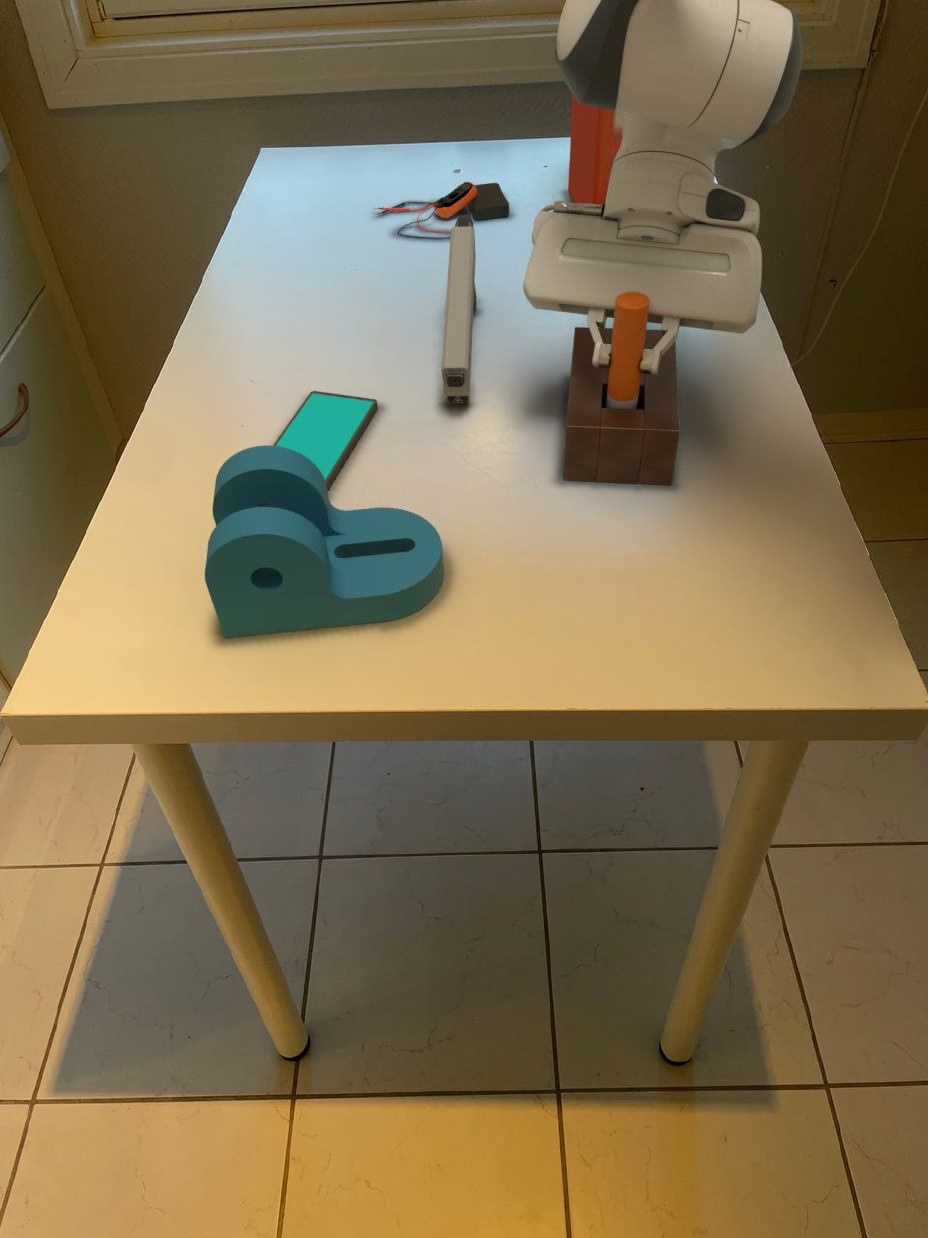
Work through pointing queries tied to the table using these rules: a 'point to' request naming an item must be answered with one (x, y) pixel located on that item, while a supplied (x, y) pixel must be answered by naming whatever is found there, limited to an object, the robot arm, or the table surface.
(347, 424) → the smartphone
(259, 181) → the table surface
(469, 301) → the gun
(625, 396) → the orange cylinder rod
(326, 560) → the camera mount
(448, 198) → the multimeter
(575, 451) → the pen stand
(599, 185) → the file binder
